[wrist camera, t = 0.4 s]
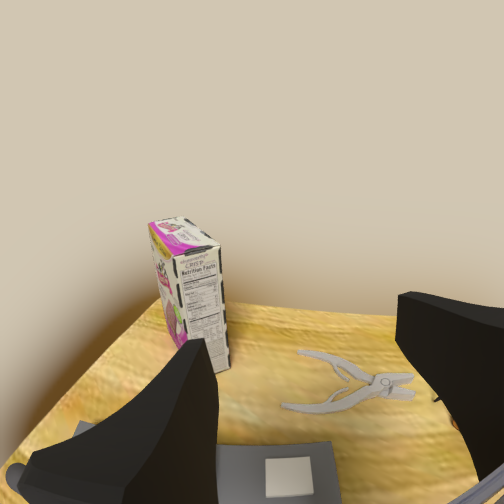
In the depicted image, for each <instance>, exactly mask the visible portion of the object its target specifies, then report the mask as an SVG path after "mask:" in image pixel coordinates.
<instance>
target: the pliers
mask: <svg viewBox="0 0 504 504" xmlns="http://www.w3.org/2000/svg"><path fill="white" fill-rule="evenodd" d="M297 354H298V355H303V356H307V357H311V358H315V359H319V360H322V361H325V362H328V363H330V364H331V365H332V367H333V369H334V371H335V373H336V374H337V375H338V376H339V377H340V378H342V379H343V380H345V381H346V382H349V380H350V379H348V378H347V377H345V376H344V375H343V374H341V373H340V371H339V370H338V369H337V367H339V368H341V369H343V370H344V371H346V372H347V373H348V374H350V375H351V376H352V377H353V378H354V379H356V380H359V381H362V382H365V383H369V384H370V385H369V386H364V387H362V388H361V389H359V390H357V391H356V392H354V393H352V394H350V395H348V396H347V397H345V398H343V399H340V400H338V401H334V402H332V400H333V398H334V397H336V396H337V395H338V394H340V393H342V392H345V391H348V389H349V388H348V387H346V388H343V389H341V390H338V391H336V392H335V393H334V394H332V395H331V396H330V397H329V398H328V400H327V401H326V402H324V403H322V404H292V403H283V402H282V404H281V408H284V409H287V410H290V411H294V412H298V413H305V414H328V413H335V412H340V411H344V410H347V409H349V408H352V407H353V406H355V405H356V404H358V403H360V402H362V401H364V400H367V399H371V398H374V397H376V396H378V397H381V398H385V399H393V400H404V401H412V399H413V398H414V396H415V393H416V391H413V390H409V389H405V388H401V387H397V386H400V385H406V384H411V382H412V380H413V378H414V375H413V373H384V374H376V377H374V376H371V375H369V374H367V373H365V372H363V371H362V370H361V369H359V368H358V367H357V366H356V365H354V364H353V363H351V362H349V361H347V360H345V359H343V358H340V357H337V356H334V355H331V354H327V353H323V352H318V351H310V350H298V352H297ZM390 387H391V388H390Z"/></svg>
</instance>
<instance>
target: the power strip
mask: <svg viewBox="0 0 504 504" xmlns="http://www.w3.org/2000/svg"><path fill="white" fill-rule="evenodd" d="M94 426H95V424H91V423H88V422H84V421H81V420H80V422H79V424H78V426H77V428H76V430H75V432H74V435H73V437H75V436H77V435H79V434H81V433H83V432H85V431H86V430H88V429H90V428H92V427H94ZM216 478H217V491H218V501H219V504H342V501H341V494H340V488H339V482H338V476H337V470H336V464H335V459H334V453H333V448H332V442H331V441H327V442H318V443H307V444H293V445H268V446H241V445H216Z"/></svg>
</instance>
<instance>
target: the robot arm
mask: <svg viewBox="0 0 504 504" xmlns="http://www.w3.org/2000/svg"><path fill="white" fill-rule="evenodd" d="M395 341H396V343H397V344H398V346H399V348H400V349H401V351H402V352H403V354H404V355H405V357H406V359H407V360H408V361H409V362H410V363H411V365H412V366H413V367H414V368H415V369H416V370H417V372H418V373H419V374H420V375H421V376H422V377H423V378H424V380H425V381H426V382H427V383H428V384H429V385H430V386H431V388H432V389H433V390H434V391H435V392H436V393H437V395H438V396H439V397H440V399H441V400H442V401H443V403H444V404H445V406H446V408H447V409H448V411H449V412H450V414H451V416H452V417H453V419H454V421H455V423H456V425H457V427H458V428H459V430H460V432H461V434H462V436H463V438H464V441H465V443H466V445H467V447H468V450H469V452H470V454H471V457H472V460H473V463H474V466H475V469H476V472H477V476H478V480H479V483H478V484H476V485H475V486H474V487H472V488H471V489H469V490H468V491H466V492H465V493H463V494H462V495H460V496H459V497H457V498H456V499H454V500H453V501H451V502H449V503H448V504H484V503H485V502H487V501H488V500H489V499H490V498H492V497H493V496H494V495H495V494H497V493H498V492H499V491H500V490H501V489H503V488H504V308H497V307H487V306H481V305H475V304H470V303H465V302H461V301H456V300H452V299H447V298H443V297H439V296H435V295H431V294H426V293H420V292H412V291H410V292H407V293H404V294H400V295H398V308H397V323H396V336H395ZM218 415H219V397H218V382H217V379H216V376H215V373H214V369H213V366H212V363H211V359H210V356H209V353H208V349H207V346H206V342H205V339H204V338H198V339H191V340H187V341H186V342H185V343H184V344H183V345H182V346H181V348H180V349H179V350H178V351H177V353H176V354H175V355H174V356H173V357H172V359H171V360H170V361H169V362H168V363H167V365H166V366H165V367H164V368H163V369H162V370H161V372H160V373H159V374H158V375H157V376H156V377H155V378H154V379H153V380H152V381H151V382H150V383H149V384H148V385H147V386H146V387H145V388H144V389H143V390H142V391H141V392H140V393H139V394H138V395H137V396H136V397H134V398H133V399H132V400H131V401H130V402H128V403H127V404H126V405H125V406H123V407H122V408H121V409H120V410H118V411H117V412H115V413H114V414H112V415H111V416H109V417H108V418H106V419H105V420H103V421H102V422H100V423H99V424H97V425H95V426H94V427H92V428H90V429H88V430H86V431H85V432H83V433H81V434H79V435H77V436H75V437H72V438H70V439H68V440H66V441H63V442H61V443H58V444H55V445H53V446H50V447H47V448H44V449H41V450H38V451H34V452H33V453H32V455H31V457H30V459H29V461H28V463H27V465H26V467H25V469H24V471H23V473H22V475H21V477H20V479H19V481H18V483H17V488H18V490H19V492H20V494H21V495H22V497H23V498H24V499H25V500H26V501H27V502H28V503H29V504H219V501H218V491H217V478H216V445H217V430H218ZM494 504H504V495H503V496H502V497H501V498H500V499H499V500H498V501H497V502H495V503H494Z"/></svg>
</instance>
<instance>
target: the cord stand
mask: <svg viewBox="0 0 504 504" xmlns="http://www.w3.org/2000/svg"><path fill="white" fill-rule="evenodd" d="M25 467H26V466H25V465H24V464H22V463H14V464H12V465H10V466H9V467H8V469H7V471H6V481H7V484H8V485H9V487H10V488H11V489H13V490H14V491H15V492H17V493H18V494H20V492H19V490H18V488H17V483H18V481H19V479H20V477H21V475H22V473H23V471H24V469H25ZM20 495H21V494H20ZM21 496H22V495H21Z"/></svg>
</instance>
